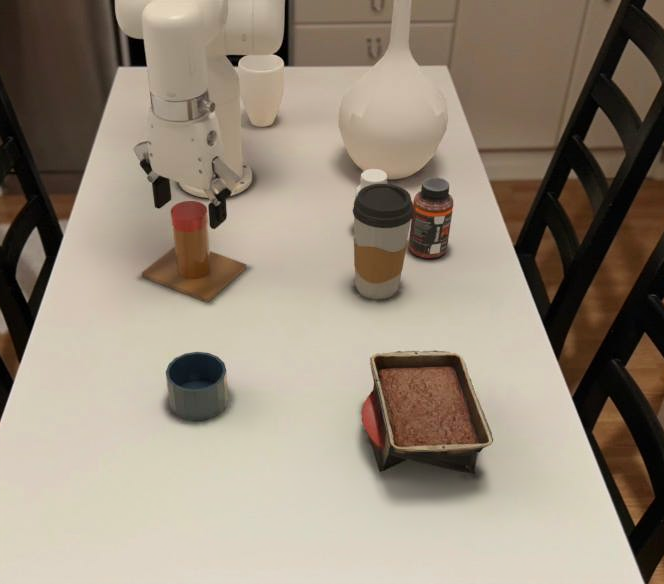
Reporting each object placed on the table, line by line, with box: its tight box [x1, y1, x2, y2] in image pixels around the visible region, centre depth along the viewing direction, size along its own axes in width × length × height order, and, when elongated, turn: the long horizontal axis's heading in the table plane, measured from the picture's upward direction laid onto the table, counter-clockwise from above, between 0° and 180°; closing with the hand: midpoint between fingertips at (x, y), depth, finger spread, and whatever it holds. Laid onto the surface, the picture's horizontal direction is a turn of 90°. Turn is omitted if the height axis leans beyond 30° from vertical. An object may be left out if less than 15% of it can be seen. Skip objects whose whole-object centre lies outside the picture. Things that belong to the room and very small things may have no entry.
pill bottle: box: [354, 169, 388, 200], centre depth 142 cm, size 5×5×10 cm
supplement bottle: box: [408, 177, 455, 259], centre depth 137 cm, size 6×6×11 cm
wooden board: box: [141, 246, 247, 303], centre depth 137 cm, size 12×10×1 cm
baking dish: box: [361, 350, 494, 475], centre depth 109 cm, size 14×18×10 cm
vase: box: [338, 0, 449, 180], centre depth 150 cm, size 18×18×30 cm
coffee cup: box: [352, 183, 413, 300], centre depth 129 cm, size 8×8×15 cm
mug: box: [237, 53, 285, 128], centre depth 170 cm, size 12×8×11 cm
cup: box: [165, 351, 229, 422], centre depth 115 cm, size 7×7×5 cm
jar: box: [170, 200, 211, 279], centre depth 133 cm, size 5×5×10 cm
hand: (190, 213), depth 131 cm, fingers open, 9 cm apart
